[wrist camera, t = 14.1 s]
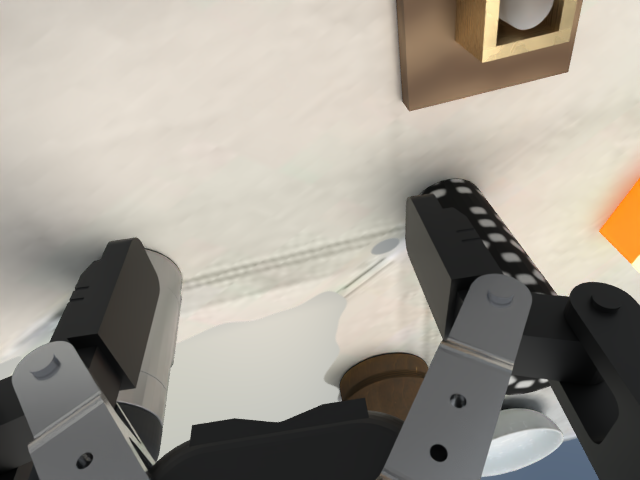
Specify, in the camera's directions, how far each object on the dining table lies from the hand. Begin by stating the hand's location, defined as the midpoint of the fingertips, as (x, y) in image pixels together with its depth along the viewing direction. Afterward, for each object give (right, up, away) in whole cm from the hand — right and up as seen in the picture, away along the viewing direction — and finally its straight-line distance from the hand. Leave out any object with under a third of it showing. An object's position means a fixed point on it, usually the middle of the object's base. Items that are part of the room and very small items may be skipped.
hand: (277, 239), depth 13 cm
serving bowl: (+37, -37, +75) cm, 91 cm away
